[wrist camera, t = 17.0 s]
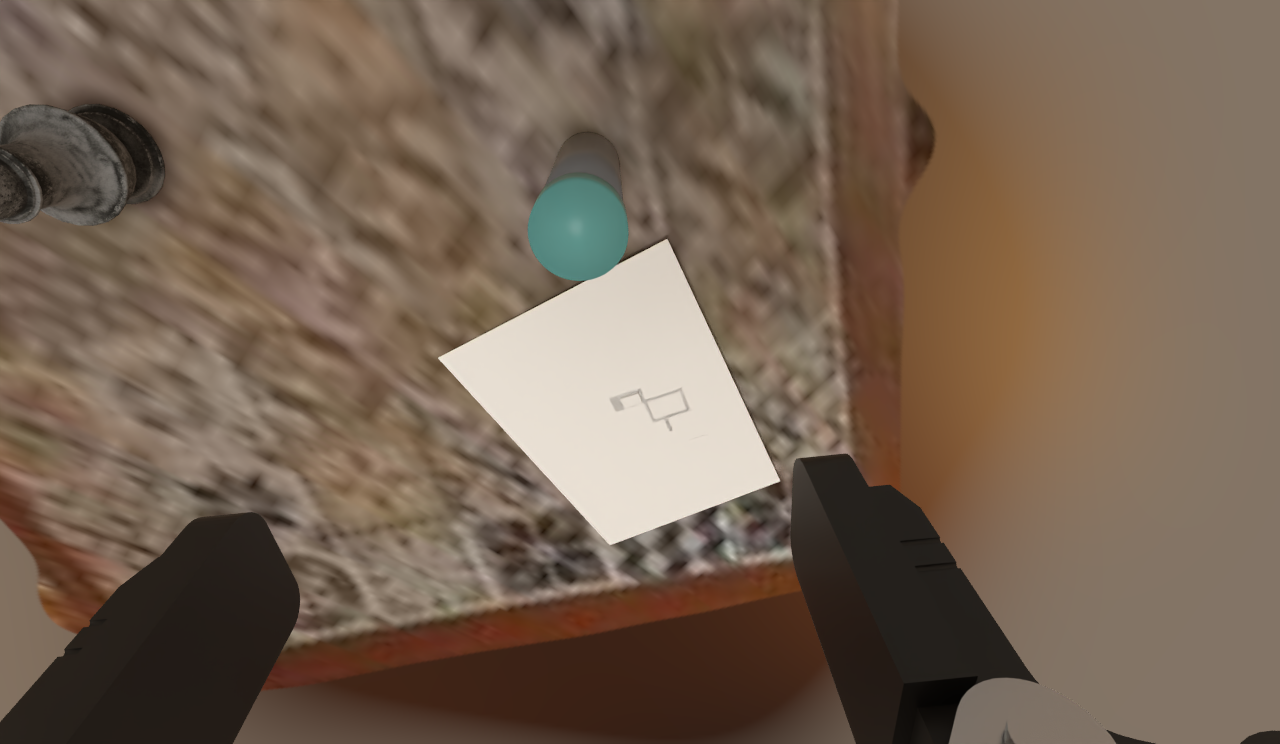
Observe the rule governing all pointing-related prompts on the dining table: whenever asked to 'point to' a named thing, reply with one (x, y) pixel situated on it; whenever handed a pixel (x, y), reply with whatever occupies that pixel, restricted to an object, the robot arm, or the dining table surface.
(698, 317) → the paper sheet
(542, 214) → the marker
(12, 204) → the weathered grey finial
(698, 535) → the dining table surface
